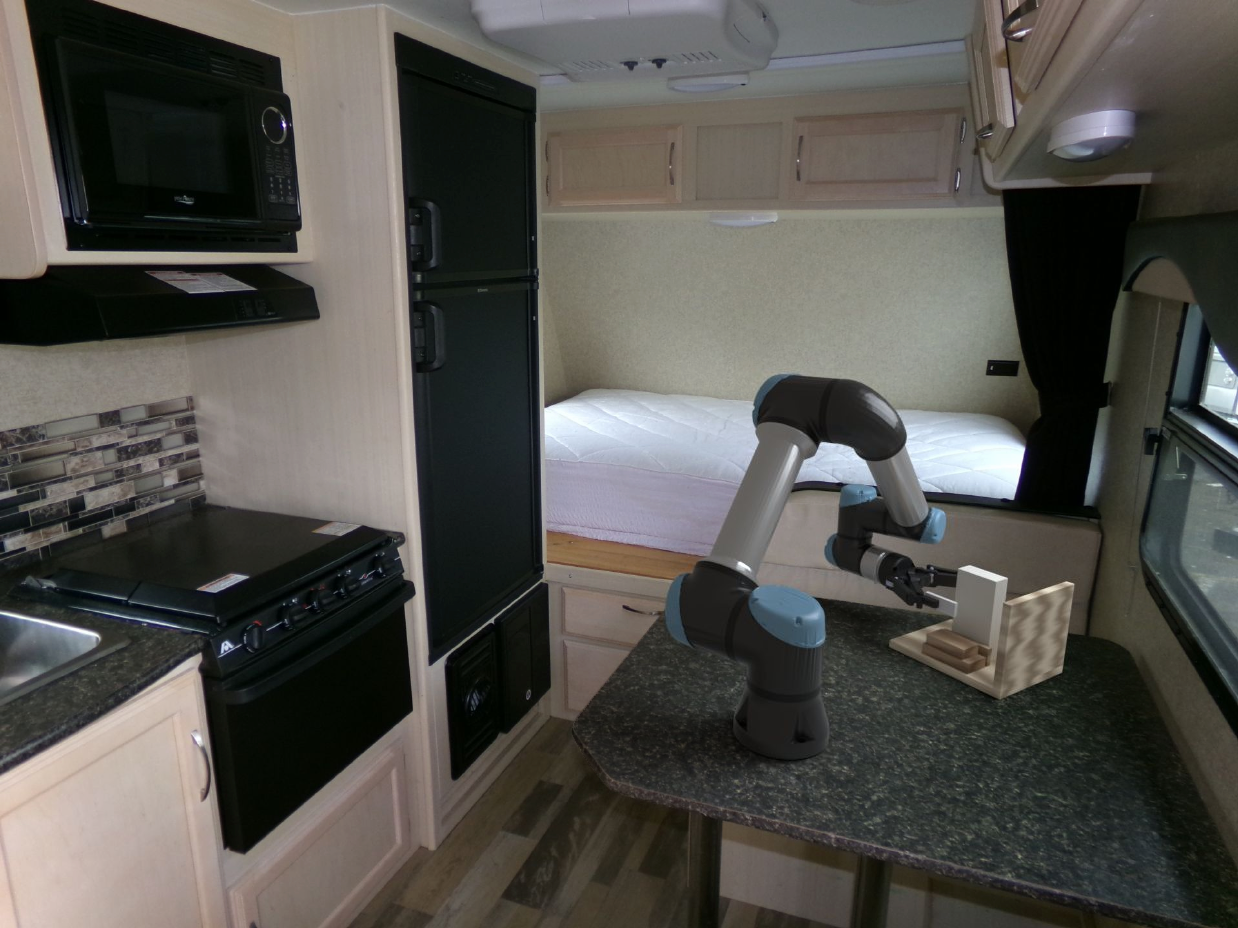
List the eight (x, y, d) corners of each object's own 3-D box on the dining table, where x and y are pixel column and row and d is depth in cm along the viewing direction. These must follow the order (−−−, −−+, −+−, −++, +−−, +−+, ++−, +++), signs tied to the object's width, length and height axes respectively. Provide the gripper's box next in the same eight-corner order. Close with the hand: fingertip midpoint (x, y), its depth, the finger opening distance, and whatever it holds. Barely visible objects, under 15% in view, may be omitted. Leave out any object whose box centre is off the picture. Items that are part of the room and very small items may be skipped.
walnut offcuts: (967, 674, 149) (969, 653, 148) (921, 652, 157) (923, 633, 156) (984, 667, 151) (987, 647, 151) (938, 646, 160) (940, 627, 159)
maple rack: (999, 699, 143) (1011, 605, 139) (889, 646, 163) (896, 563, 159) (1061, 672, 153) (1074, 583, 149) (950, 625, 173) (959, 546, 169)
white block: (986, 662, 153) (996, 581, 150) (949, 646, 160) (958, 568, 156) (998, 657, 155) (1008, 578, 151) (961, 641, 162) (969, 565, 158)
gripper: (925, 574, 181) (1015, 607, 163) (845, 597, 168) (934, 635, 150) (928, 541, 179) (1019, 571, 162) (848, 562, 166) (938, 597, 149)
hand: (978, 602), depth 156 cm, fingers open, 13 cm apart
